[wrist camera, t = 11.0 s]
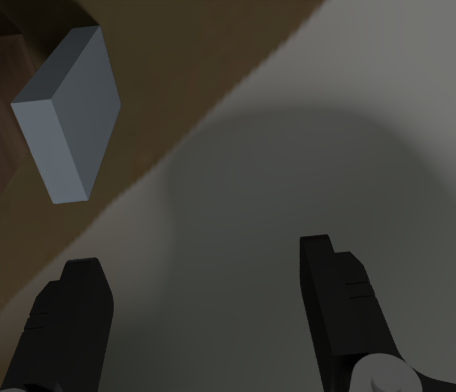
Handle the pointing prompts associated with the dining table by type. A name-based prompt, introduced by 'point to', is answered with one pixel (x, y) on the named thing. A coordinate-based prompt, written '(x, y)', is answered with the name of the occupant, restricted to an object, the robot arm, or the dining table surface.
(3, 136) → the walnut domino
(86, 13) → the dining table surface
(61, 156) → the slate domino
